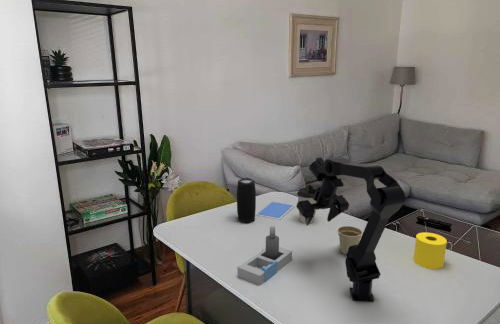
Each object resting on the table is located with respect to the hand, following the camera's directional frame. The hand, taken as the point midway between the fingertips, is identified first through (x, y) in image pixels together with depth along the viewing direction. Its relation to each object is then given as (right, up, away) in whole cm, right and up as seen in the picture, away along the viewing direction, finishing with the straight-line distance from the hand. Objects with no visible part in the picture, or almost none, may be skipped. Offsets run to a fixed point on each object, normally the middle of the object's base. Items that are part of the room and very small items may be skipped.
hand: (317, 222), depth 139 cm
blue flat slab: (-12, -3, +48) cm, 50 cm away
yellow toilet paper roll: (+41, -15, 0) cm, 43 cm away
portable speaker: (-27, -5, +37) cm, 46 cm away
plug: (-17, -15, -1) cm, 22 cm away
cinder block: (-19, -15, -4) cm, 25 cm away
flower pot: (+13, -13, +7) cm, 20 cm away
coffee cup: (+1, -5, +36) cm, 36 cm away
